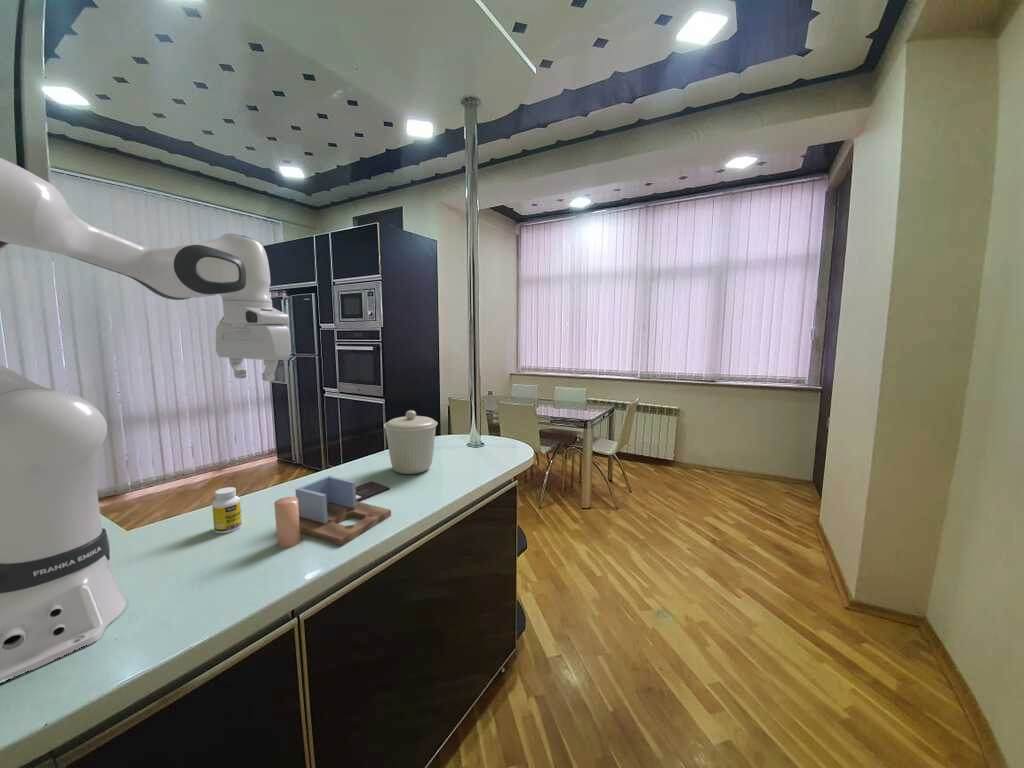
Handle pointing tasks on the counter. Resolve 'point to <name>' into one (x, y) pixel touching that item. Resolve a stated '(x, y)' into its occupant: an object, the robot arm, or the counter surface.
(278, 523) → the peg
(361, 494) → the chocolate bar
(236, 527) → the supplement bottle
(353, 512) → the socket board
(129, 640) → the counter surface
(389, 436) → the canister
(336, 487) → the housing
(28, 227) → the robot arm
